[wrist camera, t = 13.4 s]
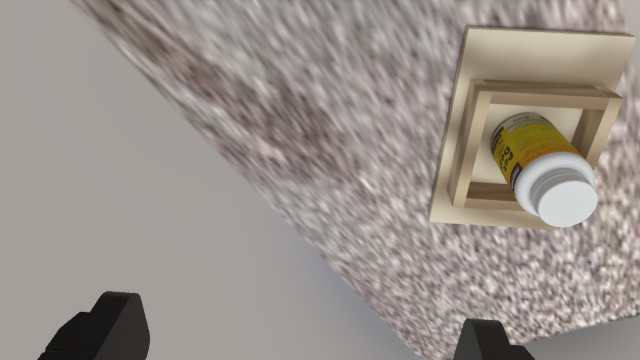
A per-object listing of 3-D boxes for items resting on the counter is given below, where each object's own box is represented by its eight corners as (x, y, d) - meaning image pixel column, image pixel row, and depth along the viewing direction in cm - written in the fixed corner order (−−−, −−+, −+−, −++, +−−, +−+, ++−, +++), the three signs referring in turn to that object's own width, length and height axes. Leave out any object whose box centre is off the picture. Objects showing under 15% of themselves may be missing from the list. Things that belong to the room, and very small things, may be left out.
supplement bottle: (485, 120, 39) (523, 181, 30) (552, 104, 37) (612, 161, 29) (492, 173, 41) (529, 243, 32) (555, 159, 40) (611, 227, 31)
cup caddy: (466, 25, 35) (478, 37, 32) (629, 34, 35) (659, 46, 32) (427, 215, 45) (433, 240, 42) (555, 224, 45) (571, 249, 42)
